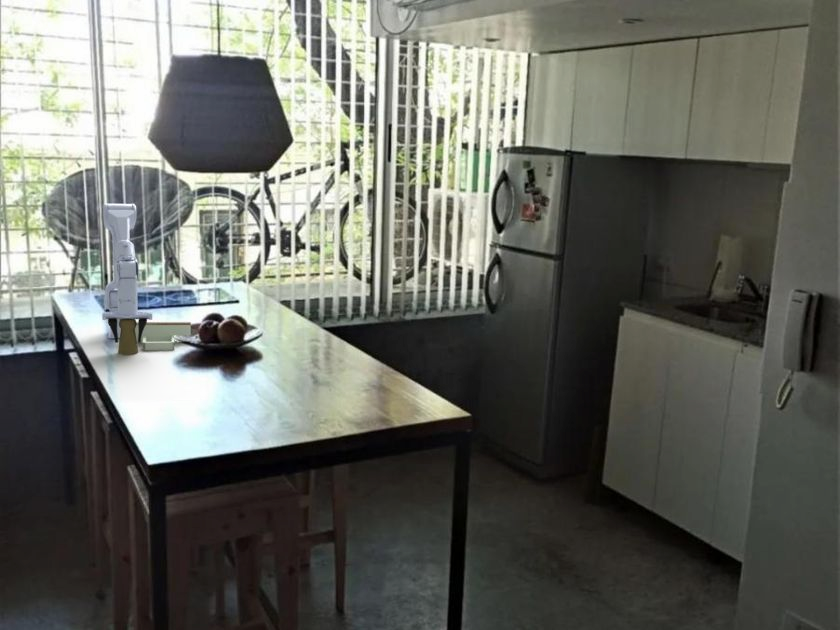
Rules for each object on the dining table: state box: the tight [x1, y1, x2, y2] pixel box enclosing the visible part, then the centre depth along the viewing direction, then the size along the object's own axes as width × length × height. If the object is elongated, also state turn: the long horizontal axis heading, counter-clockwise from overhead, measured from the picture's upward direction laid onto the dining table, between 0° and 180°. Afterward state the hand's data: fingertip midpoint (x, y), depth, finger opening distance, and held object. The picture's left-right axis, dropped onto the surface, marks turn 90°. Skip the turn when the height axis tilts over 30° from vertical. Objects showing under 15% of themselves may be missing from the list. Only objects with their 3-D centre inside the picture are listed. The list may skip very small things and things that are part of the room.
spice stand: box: [135, 321, 192, 351], centre depth 265 cm, size 10×20×7 cm, turn 106°
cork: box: [117, 318, 139, 356], centre depth 255 cm, size 6×6×11 cm
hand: (128, 341), depth 256 cm, fingers open, 6 cm apart
